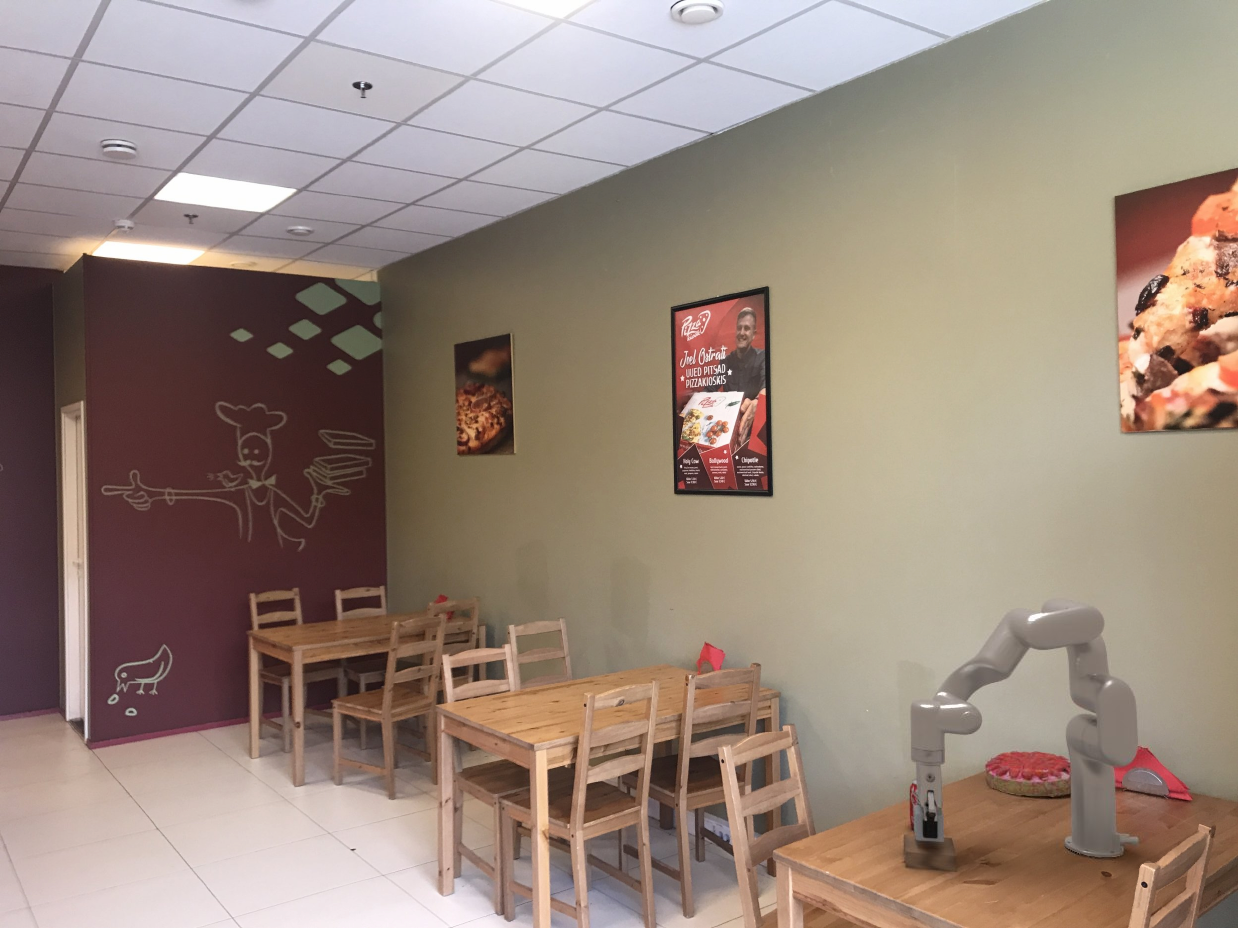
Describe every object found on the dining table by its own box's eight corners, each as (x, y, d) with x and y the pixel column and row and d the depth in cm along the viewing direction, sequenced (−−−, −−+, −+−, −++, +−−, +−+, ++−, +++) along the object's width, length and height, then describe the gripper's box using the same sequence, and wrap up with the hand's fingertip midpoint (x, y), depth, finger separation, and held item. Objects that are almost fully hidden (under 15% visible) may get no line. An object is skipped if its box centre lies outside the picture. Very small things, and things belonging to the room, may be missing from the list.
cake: (1092, 780, 277) (1089, 752, 277) (1064, 806, 258) (1061, 776, 259) (1006, 768, 294) (1003, 742, 294) (973, 792, 275) (970, 764, 275)
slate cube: (940, 832, 225) (940, 806, 226) (943, 841, 220) (943, 815, 220) (914, 830, 227) (913, 804, 227) (916, 839, 221) (916, 813, 221)
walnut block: (952, 854, 227) (951, 837, 227) (956, 873, 216) (956, 855, 216) (903, 850, 230) (903, 833, 230) (905, 869, 219) (905, 851, 219)
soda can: (941, 835, 238) (940, 786, 238) (911, 833, 240) (910, 785, 240) (937, 825, 245) (936, 778, 245) (908, 823, 247) (908, 776, 247)
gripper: (949, 766, 214) (950, 847, 214) (940, 745, 231) (940, 820, 231) (914, 764, 216) (915, 845, 215) (907, 743, 233) (908, 818, 232)
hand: (928, 831), depth 223 cm, fingers closed on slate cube, 6 cm apart
